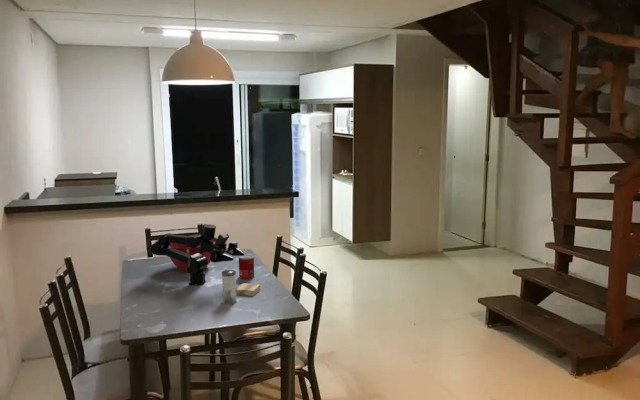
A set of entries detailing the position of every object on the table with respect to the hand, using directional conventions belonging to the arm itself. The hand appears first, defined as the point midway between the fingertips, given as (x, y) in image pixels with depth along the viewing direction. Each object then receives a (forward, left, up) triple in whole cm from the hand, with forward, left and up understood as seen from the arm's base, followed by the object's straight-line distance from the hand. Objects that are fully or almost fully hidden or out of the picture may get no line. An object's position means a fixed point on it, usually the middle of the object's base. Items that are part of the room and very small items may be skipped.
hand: (238, 256), depth 248 cm
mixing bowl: (-41, +28, -17) cm, 53 cm away
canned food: (-5, +20, -17) cm, 27 cm away
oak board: (+5, -2, -16) cm, 17 cm away
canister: (+2, -16, -17) cm, 23 cm away
